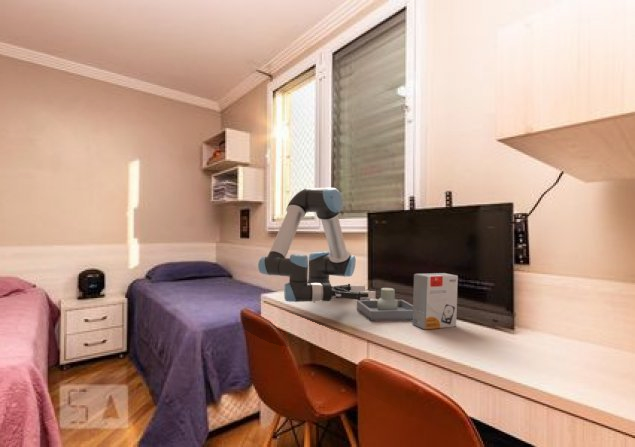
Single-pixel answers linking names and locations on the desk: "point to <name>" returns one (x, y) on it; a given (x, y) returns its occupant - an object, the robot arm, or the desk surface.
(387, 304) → the air freshener
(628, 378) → the desk surface
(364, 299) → the game die
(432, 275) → the hard drive box
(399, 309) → the tray
